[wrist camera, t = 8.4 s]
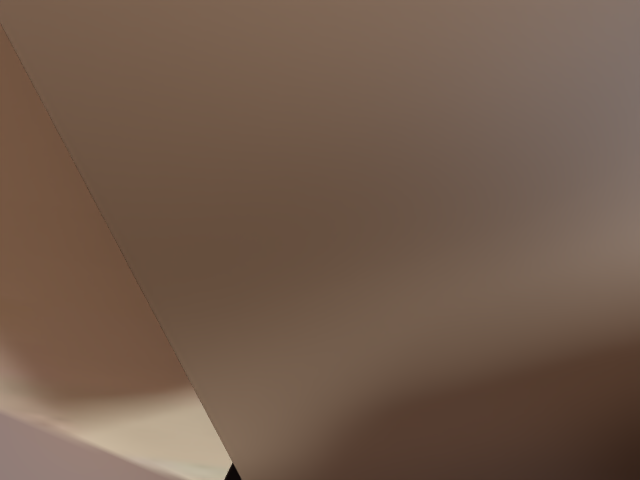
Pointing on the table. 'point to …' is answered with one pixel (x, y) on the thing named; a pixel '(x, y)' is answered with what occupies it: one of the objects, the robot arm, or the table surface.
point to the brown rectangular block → (372, 220)
